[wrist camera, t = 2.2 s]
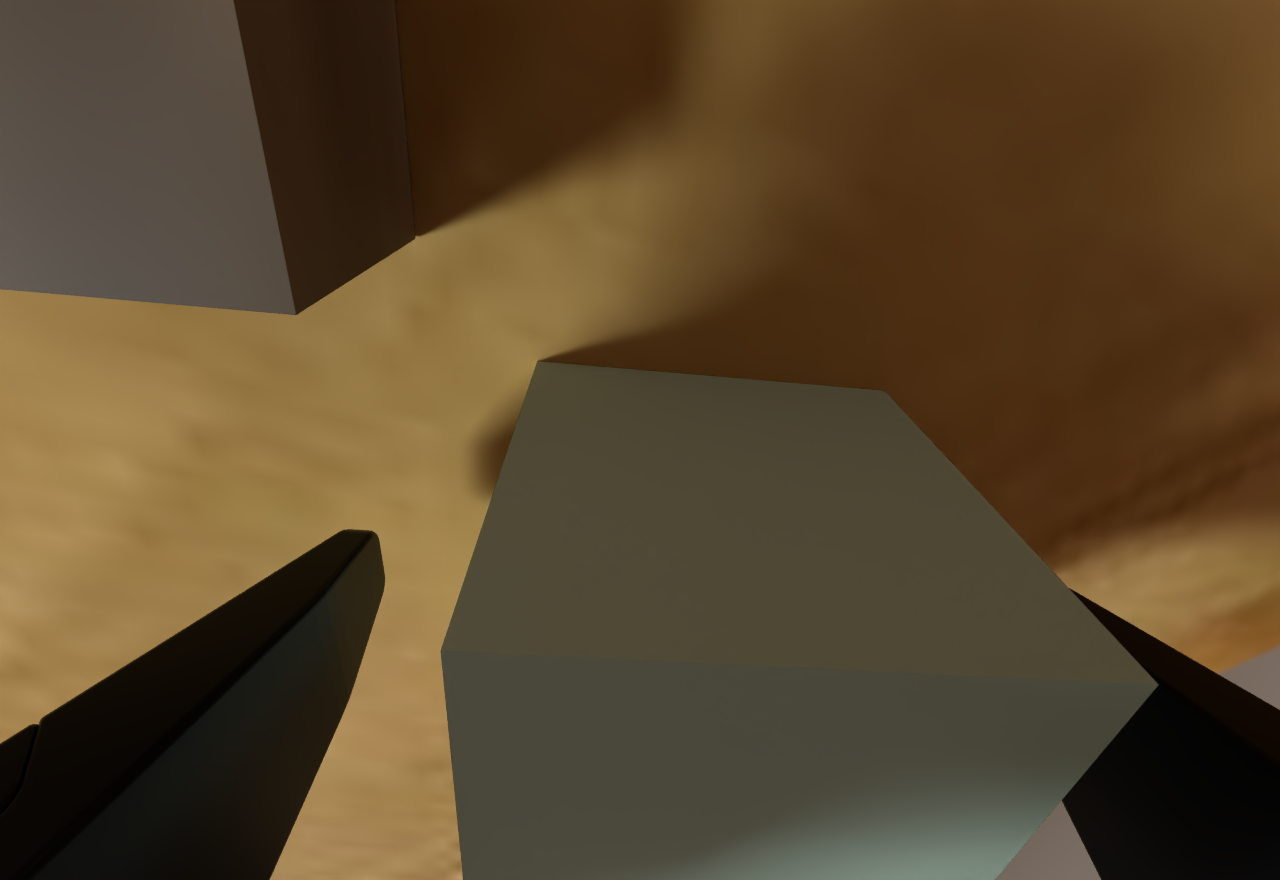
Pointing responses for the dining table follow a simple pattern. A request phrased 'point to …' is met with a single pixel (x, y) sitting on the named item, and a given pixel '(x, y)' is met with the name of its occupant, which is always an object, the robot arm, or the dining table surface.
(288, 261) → the walnut block
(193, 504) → the dining table surface
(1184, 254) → the dining table surface
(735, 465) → the sage cube
